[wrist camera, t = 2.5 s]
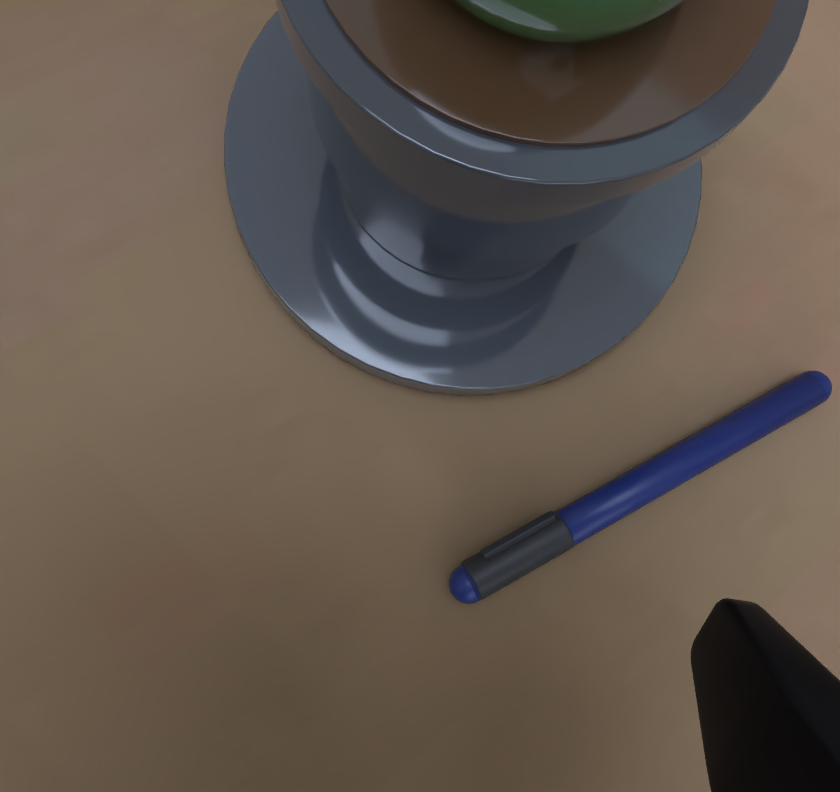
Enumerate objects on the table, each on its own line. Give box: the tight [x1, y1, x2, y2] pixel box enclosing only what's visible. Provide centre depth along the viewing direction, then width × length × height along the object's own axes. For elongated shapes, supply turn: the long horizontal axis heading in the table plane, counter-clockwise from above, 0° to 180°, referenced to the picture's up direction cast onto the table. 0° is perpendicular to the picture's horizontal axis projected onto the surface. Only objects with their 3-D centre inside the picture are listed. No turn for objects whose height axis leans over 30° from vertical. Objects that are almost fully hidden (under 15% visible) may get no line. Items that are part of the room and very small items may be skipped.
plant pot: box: [224, 0, 809, 395], centre depth 16 cm, size 15×15×16 cm
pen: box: [449, 371, 832, 604], centre depth 23 cm, size 14×1×1 cm
